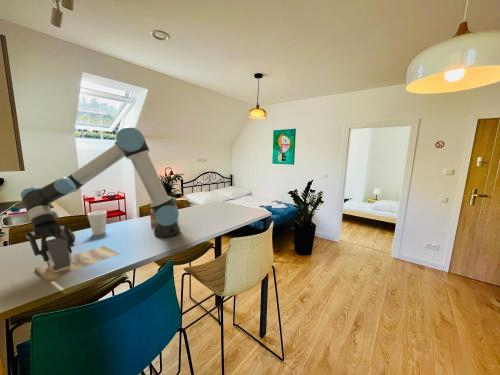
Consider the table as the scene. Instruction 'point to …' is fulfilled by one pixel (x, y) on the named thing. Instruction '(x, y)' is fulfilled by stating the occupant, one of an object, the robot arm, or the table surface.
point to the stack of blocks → (152, 218)
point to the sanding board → (77, 262)
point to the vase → (71, 235)
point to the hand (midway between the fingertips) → (61, 263)
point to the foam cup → (98, 222)
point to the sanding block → (58, 254)
